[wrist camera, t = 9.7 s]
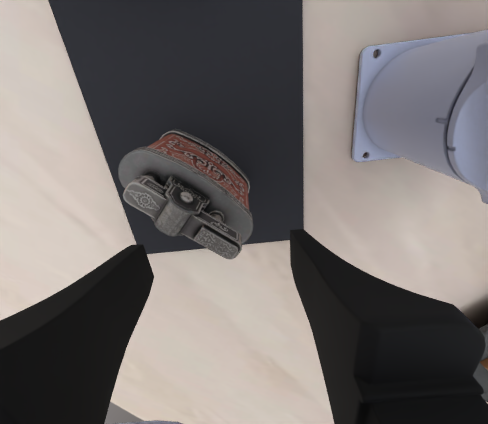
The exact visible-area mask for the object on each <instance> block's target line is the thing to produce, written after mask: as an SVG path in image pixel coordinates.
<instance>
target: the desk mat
mask: <svg viewBox="0 0 488 424" xmlns="http://www.w3.org/2000/svg"><path fill="white" fill-rule="evenodd" d="M49 3H50V6H51V9H52V11H53V14H54V17H55V20H56V23H57V25H58V28H59V31H60V34H61V36H62V39H63V42H64V45H65V47H66V50H67V53H68V56H69V58H70V61H71V64H72V67H73V70H74V72H75V75H76V78H77V81H78V83H79V86H80V89H81V92H82V94H83V97H84V100H85V103H86V105H87V108H88V111H89V114H90V116H91V119H92V122H93V125H94V128H95V130H96V133H97V136H98V139H99V141H100V144H101V147H102V150H103V152H104V155H105V158H106V161H107V163H108V166H109V169H110V172H111V174H112V177H113V180H114V183H115V186H116V188H117V191H118V194H119V197H120V199H121V202H122V205H123V208H124V210H125V213H126V216H127V219H128V221H129V224H130V227H131V230H132V232H133V235H134V238H135V241H136V244H137V245H139V244H143V245H144V248H145V251H146V254H153V253H163V252H173V251H183V250H193V249H203V248H206V247H204V246H202V245H201V244H199V243H197V242H195V241H194V240H192V239H190V238H188V237H186V236H185V235H183V236H175V237H172V236H168V235H166V234H164V233H163V232H161V231H159V230H158V229H157V228H156V227H155V225H154V222H153V220H152V219H151V216H149V215H147V214H145V213H144V212H142V211H140V210H138V209H137V208H135V207H133V206H131V205H130V204H128V203H127V202H126V201H125V200H124V198H123V193H124V190H125V188H124V187H123V186H122V184H121V182H120V179H119V174H118V168H119V165H120V162H121V160H122V159H123V158H124V156H125V155H127V154H128V153H130V152H132V151H133V150H135V149H137V148H141V147H148V146H150V145H151V144H153V143H155V142H156V141H158V140H159V139H160V138H161V137H162V135H163V134H165V133H167V132H169V131H170V130H175V129H177V130H181V131H183V132H186V133H188V134H190V135H192V136H194V137H197V138H199V139H201V140H202V141H204V142H206V143H208V144H209V145H211V146H213V147H214V148H216V149H218V150H219V151H220V152H221V153H223V154H224V155H225V156H226V157H228V158H229V159H230V160H231V161H233V162H234V163H235V164H236V165H237V166H238V167H239V168H240V169H241V170H242V171H243V172H244V173H245V174H246V176H247V177H248V179H249V184H250V189H249V193H248V202H249V211H250V213H251V214H252V220H253V230H252V234H251V235H250V237H249V239H248V240H247V241H246V242H244V243H243V244H242V245H244V244H254V243H264V242H274V241H284V240H290V230H296V229H303V230H304V221H303V30H302V0H49Z"/></svg>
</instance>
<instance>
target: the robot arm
mask: <svg viewBox="0 0 488 424" xmlns="http://www.w3.org/2000/svg"><path fill="white" fill-rule="evenodd" d="M375 50H377V51H378V56H377V57H376V58H374V57H373V52H374V51H375ZM365 152H367V156H366V157H364V158H363V154H364V153H365ZM400 157H403V158H405V159H408V160H410V161H413V162H415V163H418V164H420V165H423V166H425V167H428V168H430V169H432V170H435V171H437V172H440V173H442V174H445V175H447V176H450V177H452V178H455V179H457V180H460V181H462V182H465V183H467V184H470V185H472V186H474V187H475V188H477V189H478V191H479V192H480V194H481V198H482V202H484V203H486V204H488V29H486V30H482V31H478V32H474V33H467V34H459V35H451V36H443V37H436V38H428V39H420V40H412V41H405V42H397V43H389V44H381V45H374V46H369V47H366V48H364V49H363V50H362V52H361V54H360V61H359V73H358V86H357V98H356V110H355V122H354V134H353V146H352V159H353V160H354V161H356V162H364V161H373V160H382V159H391V158H400ZM290 257H291V268H292V273H293V277H294V281H295V284H296V287H297V290H298V293H299V295H300V298H301V301H302V304H303V306H304V309H305V312H306V315H307V317H308V320H309V323H310V326H311V329H312V332H313V336H314V340H315V344H316V347H317V351H318V355H319V359H320V363H321V367H322V371H323V376H324V380H325V384H326V388H327V393H328V397H329V401H330V405H331V410H332V414H333V419H334V423H335V424H488V404H487V403H486V401H485V400H484V399H483V398H482V396H481V395H482V394H483V393H484V390H483V387H482V386H481V385H480V384H479V383H478V381H477V380H476V379H475V378H474V377H473V374H474V372H475V370H476V368H477V366H478V364H479V362H480V360H481V359H482V357H483V354H484V351H485V347H486V342H485V337H484V335H483V334H482V333H481V331H480V330H479V329H478V328H477V327H476V326H475V325H474V324H473V323H472V322H471V321H470V320H469V319H468V318H467V317H466V316H465V315H464V314H463V313H462V312H461V311H460V310H459V309H458V308H456V307H455V306H454V305H453V304H449V303H446V302H442V301H439V300H436V299H432V298H429V297H426V296H422V295H419V294H416V293H413V292H411V291H408V290H405V289H402V288H400V287H397V286H395V285H392V284H390V283H387V282H385V281H383V280H381V279H378V278H376V277H374V276H372V275H370V274H368V273H366V272H364V271H362V270H360V269H358V268H356V267H355V266H353V265H351V264H349V263H348V262H346V261H344V260H343V259H341V258H340V257H338V256H337V255H335V254H334V253H332V252H331V251H330V250H328V249H327V248H326V247H324V246H323V245H322V244H320V243H319V242H318V241H317V240H315V239H314V238H313V237H312V236H311V235H309V234H308V233H307V232H306V231H305V230H303V229H296V230H290ZM153 279H154V275H153V272H152V269H151V266H150V263H149V260H148V257H147V254H146V251H145V248H144V245H143V244H139V245H131V246H129V247H127V248H125V249H124V250H122V251H121V252H119V253H118V254H116V255H115V256H113V257H112V258H110V259H109V260H107V261H106V262H105V263H103V264H102V265H100V266H99V267H97V268H96V269H94V270H93V271H91V272H90V273H88V274H87V275H85V276H84V277H82V278H81V279H79V280H77V281H76V282H74V283H73V284H71V285H70V286H68V287H66V288H64V289H63V290H61V291H59V292H57V293H56V294H54V295H52V296H50V297H48V298H47V299H45V300H43V301H41V302H39V303H37V304H35V305H33V306H31V307H29V308H27V309H24V310H22V311H20V312H18V313H16V314H14V315H12V316H10V317H7V318H5V319H3V320H1V321H0V424H104V422H105V419H106V415H107V411H108V407H109V403H110V400H111V396H112V392H113V389H114V385H115V382H116V379H117V375H118V372H119V369H120V366H121V363H122V359H123V356H124V353H125V350H126V347H127V345H128V342H129V340H130V337H131V335H132V333H133V331H134V328H135V326H136V324H137V322H138V319H139V317H140V315H141V313H142V310H143V308H144V306H145V303H146V301H147V299H148V296H149V293H150V290H151V287H152V283H153ZM115 424H182V423H179V422H171V421H142V422H129V423H115Z"/></svg>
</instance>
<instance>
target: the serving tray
mask: <svg viewBox="0 0 488 424" xmlns="http://www.w3.org/2000/svg"><path fill="white" fill-rule="evenodd" d="M479 330H480V331H481V333H482V334H483V335H484V337H485V342H486V347H485V351H484V354H483V357H482V359H481V360H480V362H479V364H478V366H477V368H476V370H475V372H474V374H473V377H474V378H475V379H476V380H477V381H478V383H479V384H480V385H481V386H482V387H483V390H484V393H483V394H482V395H481V396H482V398H483V399H484V400H485V401H487V402H488V324H487V325H485V326H483V327H480V328H479Z"/></svg>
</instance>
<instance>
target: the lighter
mask: <svg viewBox="0 0 488 424" xmlns="http://www.w3.org/2000/svg"><path fill="white" fill-rule="evenodd" d="M118 174H119V179H120V182H121V184H122V186H123V187H124V188H125V190H124V193H123V198H124V200H125V201H126V202H127V203H128V204H130V205H131V206H133V207H135V208H137V209H138V210H140V211H142V212H144V213H145V214H147V215H149V216H151V219H152V220H153V222H154V225H155V227H156V228H157V229H158V230H159V231H161V232H163V233H164V234H166V235H168V236H172V237H175V236H183V235H185V236H186V237H188V238H190V239H192V240H194V241H195V242H197V243H199V244H201V245H202V246H204V247H206V248H208V249H210V250H211V251H213V252H215V253H217V254H218V255H220V256H222V257H224V258H226V259H233V258H235V257H236V256H237V255H238V254H239V253H240V251H241V250H242V244H243V243H244V242H246V241H247V240H248V239H249V237H250V235H251V234H252V230H253V220H252V214H251V213H250V211H249V202H248V193H249V189H250V184H249V179H248V177H247V176H246V174H245V173H244V172H243V171H242V170H241V169H240V168H239V167H238V166H237V165H236V164H235V163H234V162H233V161H231V160H230V159H229V158H228V157H226V156H225V155H224V154H223V153H221V152H220V151H219V150H218V149H216V148H214V147H213V146H211V145H209V144H208V143H206V142H204V141H202V140H201V139H199V138H197V137H194V136H192V135H190V134H188V133H186V132H183V131H181V130H177V129H175V130H170V131H169V132H167V133H165V134H163V135H162V137H161V138H160V139H159V140H158V141H156V142H155V143H153V144H151V145H150V146H148V147H141V148H137V149H135V150H133V151H132V152H130V153H128V154H127V155H125V156H124V158H123V159H122V160H121V162H120V165H119V168H118Z"/></svg>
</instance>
